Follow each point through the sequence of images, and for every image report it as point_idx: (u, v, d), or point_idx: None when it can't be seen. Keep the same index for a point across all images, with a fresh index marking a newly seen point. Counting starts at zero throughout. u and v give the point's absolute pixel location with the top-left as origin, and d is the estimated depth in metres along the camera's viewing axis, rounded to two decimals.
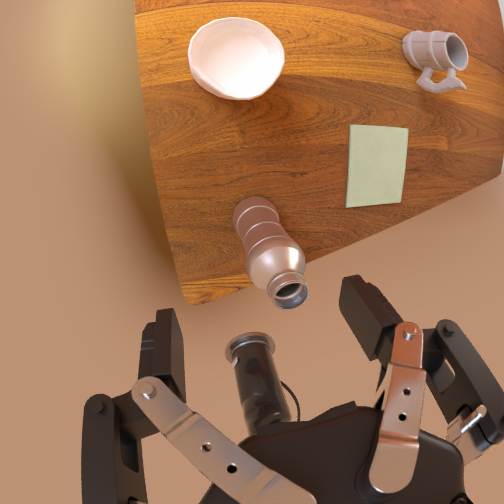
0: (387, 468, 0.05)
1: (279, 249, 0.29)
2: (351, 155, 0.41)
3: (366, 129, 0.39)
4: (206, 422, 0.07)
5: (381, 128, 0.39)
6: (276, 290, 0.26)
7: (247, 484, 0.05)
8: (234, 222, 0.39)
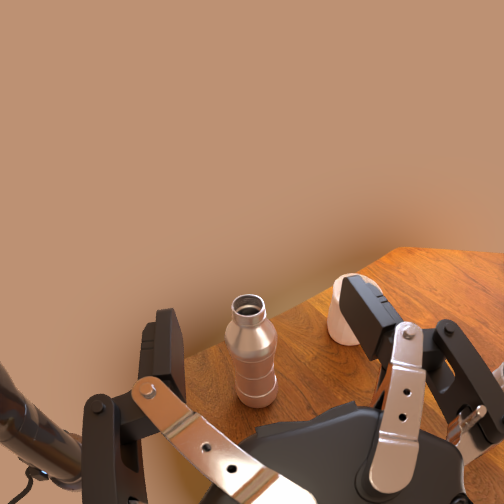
0: (387, 468, 0.05)
1: (269, 321, 0.34)
2: None
3: None
4: (206, 422, 0.07)
5: None
6: (248, 294, 0.32)
7: (247, 484, 0.05)
8: None
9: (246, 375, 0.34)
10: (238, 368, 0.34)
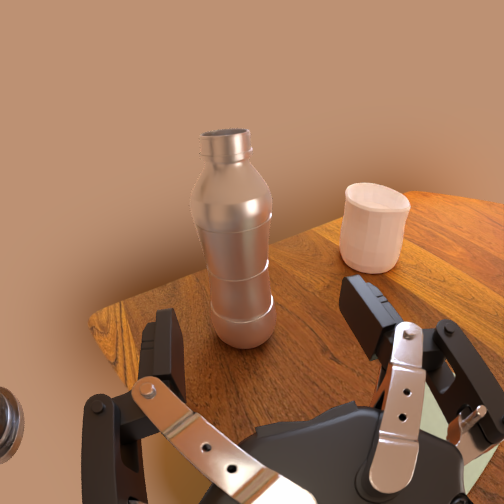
0: (387, 468, 0.05)
1: None
2: None
3: None
4: (206, 422, 0.07)
5: None
6: (227, 129, 0.20)
7: (247, 484, 0.05)
8: None
9: (223, 272, 0.22)
10: (210, 259, 0.22)
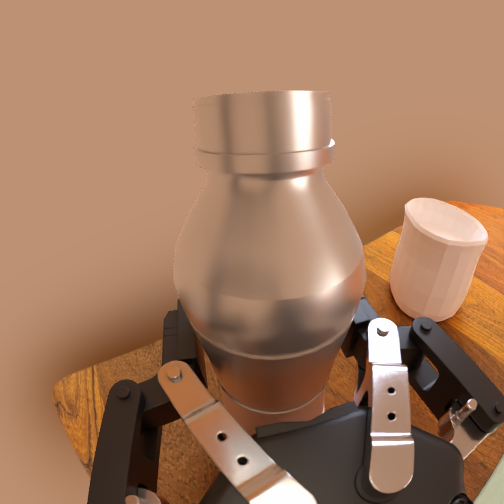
0: (387, 468, 0.05)
1: None
2: (487, 487, 0.08)
3: None
4: (226, 412, 0.07)
5: None
6: None
7: (254, 478, 0.05)
8: None
9: (251, 402, 0.10)
10: (224, 379, 0.10)
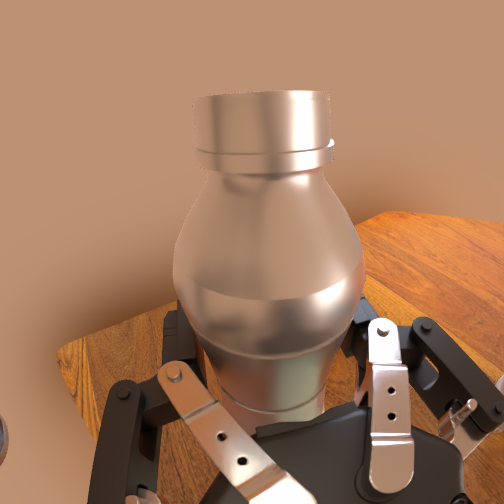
0: (387, 468, 0.05)
1: None
2: None
3: None
4: (226, 412, 0.07)
5: None
6: None
7: (254, 478, 0.05)
8: None
9: (251, 402, 0.10)
10: (224, 379, 0.10)
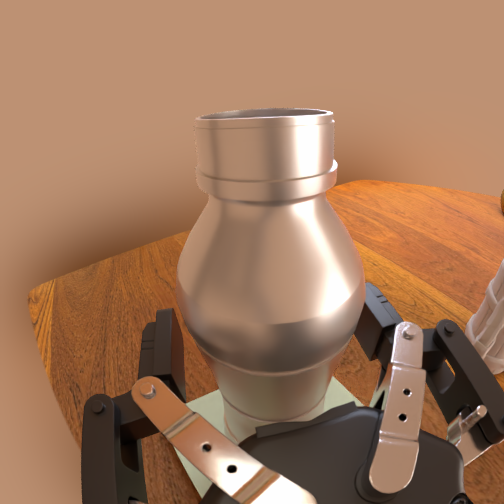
0: (387, 468, 0.05)
1: None
2: None
3: None
4: (206, 422, 0.07)
5: (342, 388, 0.20)
6: (263, 110, 0.08)
7: (247, 484, 0.05)
8: None
9: (252, 412, 0.10)
10: (226, 391, 0.10)
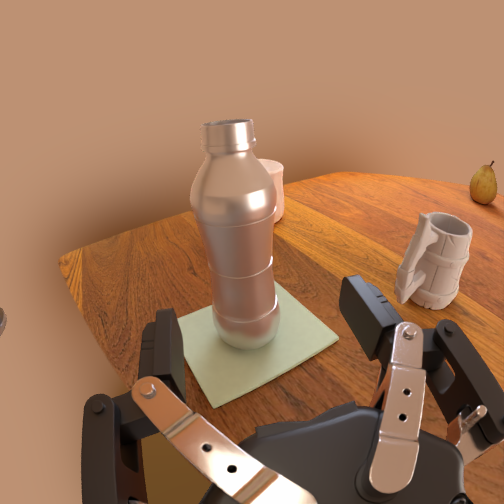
0: (387, 468, 0.05)
1: None
2: None
3: (281, 293, 0.33)
4: (206, 422, 0.07)
5: (300, 305, 0.31)
6: (229, 120, 0.19)
7: (247, 484, 0.05)
8: None
9: (225, 268, 0.21)
10: (211, 255, 0.21)
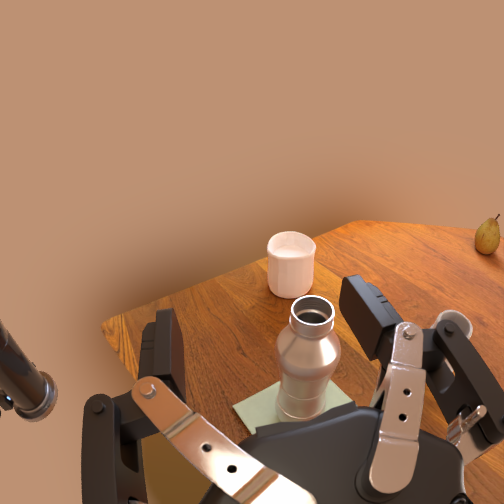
0: (387, 468, 0.05)
1: None
2: None
3: None
4: (206, 422, 0.07)
5: (335, 386, 0.36)
6: (310, 296, 0.24)
7: (247, 484, 0.05)
8: None
9: (298, 395, 0.26)
10: (289, 388, 0.26)
